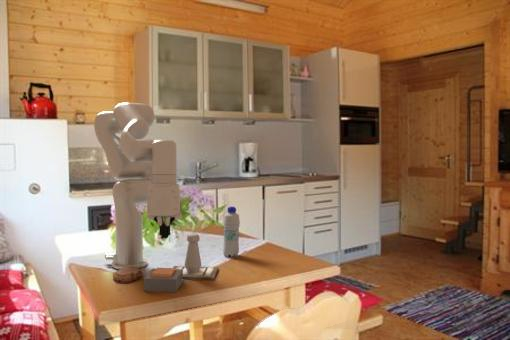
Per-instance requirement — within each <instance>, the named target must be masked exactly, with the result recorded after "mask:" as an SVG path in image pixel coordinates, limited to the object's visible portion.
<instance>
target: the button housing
mask: <svg viewBox="0 0 510 340" xmlns="http://www.w3.org/2000/svg"><path fill="white" fill-rule="evenodd" d="M155 270H156V268H152V269H151V270H150V271H149V272H148V273H147V274H146V275H145V277H144V278H143V292H161V293H162V292H164V293H165V292H167V293H177V292H178V291H179V288H180V286H182V284H183V282H184V279H183V269H176V272H175V274H174V275H173V277H152V273H153V272H154V271H155Z"/></svg>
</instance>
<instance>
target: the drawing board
mask: <svg viewBox="0 0 510 340" xmlns="http://www.w3.org/2000/svg"><path fill="white" fill-rule="evenodd" d="M172 268H176V269H183V280H196V281H197V280H199V281H215V278H216V275H217V273H218V271H219V266H201V267H200V269H199V271H198V272H197V273H188V272H187V270H186V267H185V265H174V266H173V267H172Z"/></svg>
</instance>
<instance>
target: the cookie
mask: <svg viewBox="0 0 510 340" xmlns="http://www.w3.org/2000/svg"><path fill="white" fill-rule="evenodd" d="M143 276H144V273H143V271H142V269H140V268H132V267H130V268H125V269H124V268H123V269H117V271H115V272H113V274H112V278H113V279H112V281H113V282H116V283H119V284H120V283H121V284H126V283H132V282H133V281H137V280H138V279H139V278H142V277H143Z"/></svg>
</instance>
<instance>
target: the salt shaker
mask: <svg viewBox="0 0 510 340" xmlns="http://www.w3.org/2000/svg"><path fill="white" fill-rule="evenodd" d="M200 238H201V237H200V235H199V234H198V233H189V234H187V236H186V241H187V242H188V244H187V250H186V254H185V260H184V266H185V267H186V270H187V272H188V273H197V272H198V271H199V269H200V267H202V260H201V255H200V254H201V253H200V249H199V248H200V247H199V242H200Z"/></svg>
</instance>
